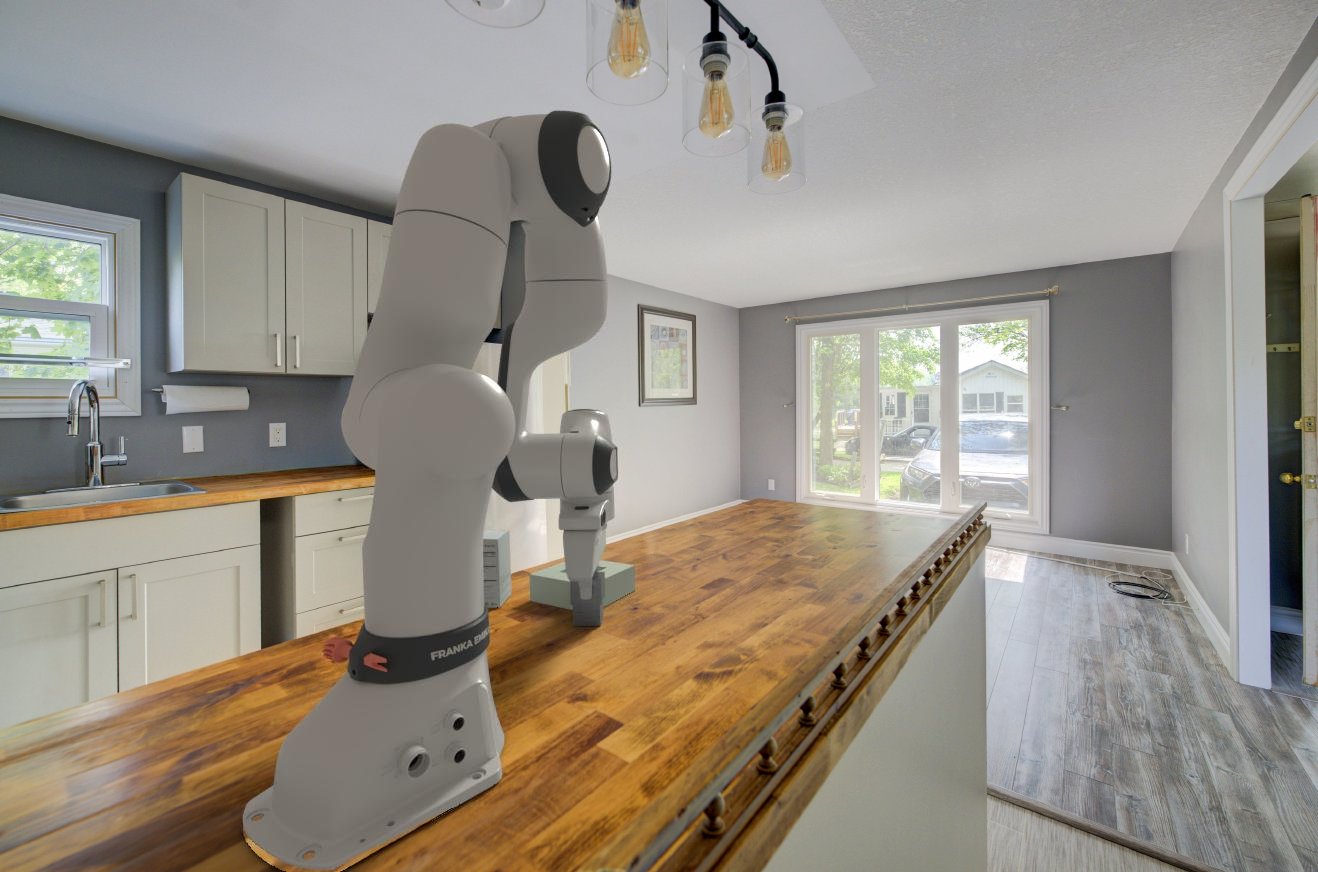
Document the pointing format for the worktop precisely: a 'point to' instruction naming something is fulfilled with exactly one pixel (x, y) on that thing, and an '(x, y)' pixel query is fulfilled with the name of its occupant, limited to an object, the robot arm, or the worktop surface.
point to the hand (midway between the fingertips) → (589, 591)
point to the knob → (588, 602)
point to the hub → (555, 584)
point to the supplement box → (496, 567)
